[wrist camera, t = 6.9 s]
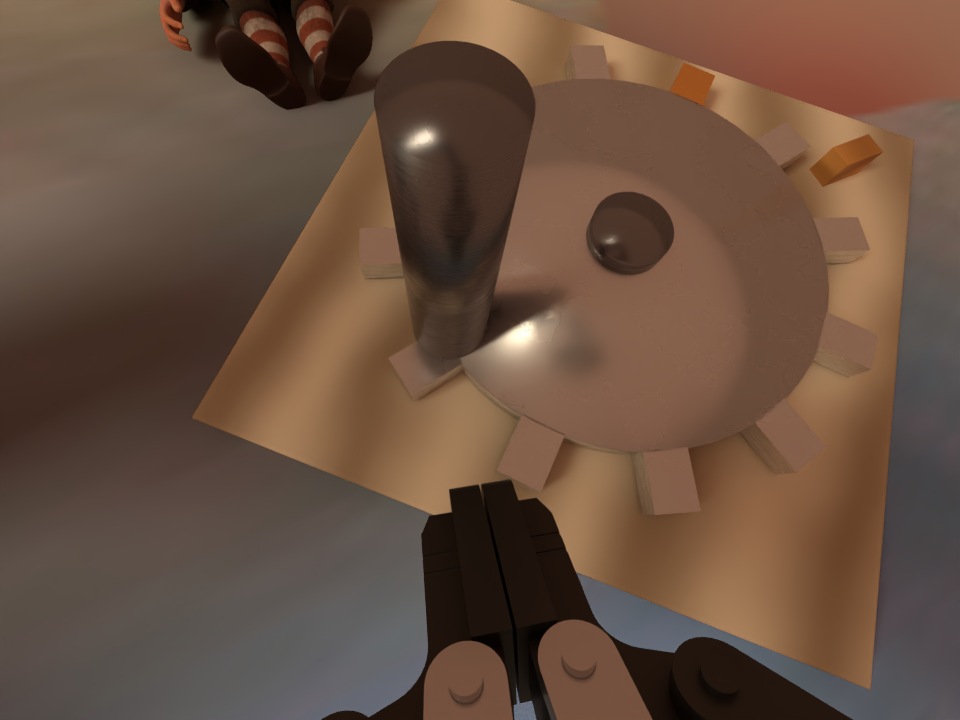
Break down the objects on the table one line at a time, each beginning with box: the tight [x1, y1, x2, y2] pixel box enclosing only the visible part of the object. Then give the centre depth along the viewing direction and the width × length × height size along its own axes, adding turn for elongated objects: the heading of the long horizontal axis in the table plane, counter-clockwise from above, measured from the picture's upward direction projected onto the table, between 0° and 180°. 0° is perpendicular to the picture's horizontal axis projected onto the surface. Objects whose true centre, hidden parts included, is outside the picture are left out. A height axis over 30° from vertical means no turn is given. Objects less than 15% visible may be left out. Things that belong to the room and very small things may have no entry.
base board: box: [192, 0, 914, 689], centre depth 22 cm, size 28×28×3 cm
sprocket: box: [359, 41, 878, 515], centre depth 16 cm, size 24×24×12 cm
